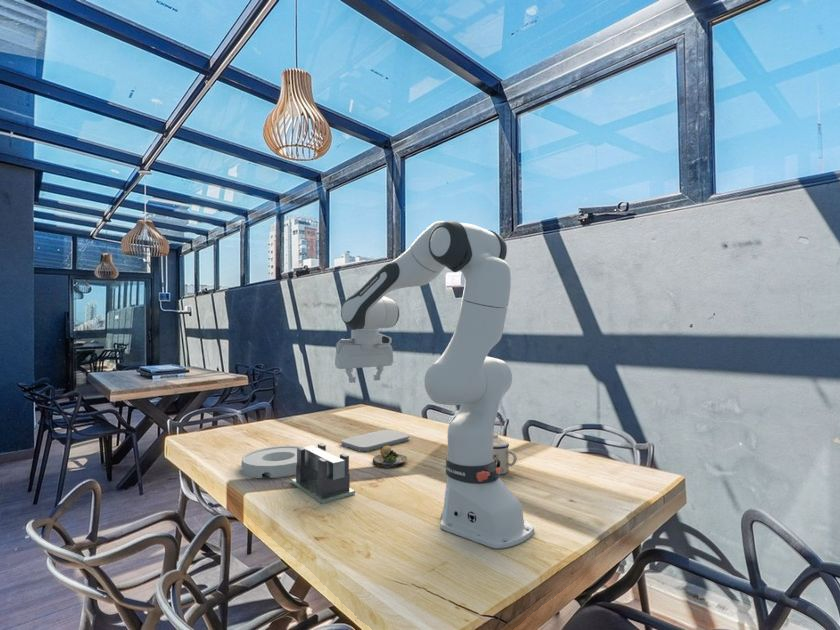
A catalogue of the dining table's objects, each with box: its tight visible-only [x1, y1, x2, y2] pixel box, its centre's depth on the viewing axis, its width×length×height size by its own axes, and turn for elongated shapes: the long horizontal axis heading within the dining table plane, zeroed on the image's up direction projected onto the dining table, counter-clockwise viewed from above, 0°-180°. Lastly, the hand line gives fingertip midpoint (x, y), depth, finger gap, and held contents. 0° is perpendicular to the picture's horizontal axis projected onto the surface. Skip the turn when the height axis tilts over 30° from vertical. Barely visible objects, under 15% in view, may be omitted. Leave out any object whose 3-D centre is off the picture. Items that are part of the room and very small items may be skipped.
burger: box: [372, 443, 408, 469], centre depth 147 cm, size 12×12×8 cm
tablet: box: [340, 429, 410, 452], centre depth 174 cm, size 16×26×2 cm, turn 136°
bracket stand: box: [290, 443, 356, 504], centre depth 124 cm, size 20×10×10 cm, turn 39°
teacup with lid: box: [493, 433, 517, 475], centre depth 138 cm, size 12×9×12 cm
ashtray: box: [241, 445, 303, 479], centre depth 144 cm, size 23×23×4 cm
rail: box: [302, 444, 345, 480], centre depth 124 cm, size 20×4×4 cm, turn 39°
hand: (364, 381), depth 138 cm, fingers open, 8 cm apart
